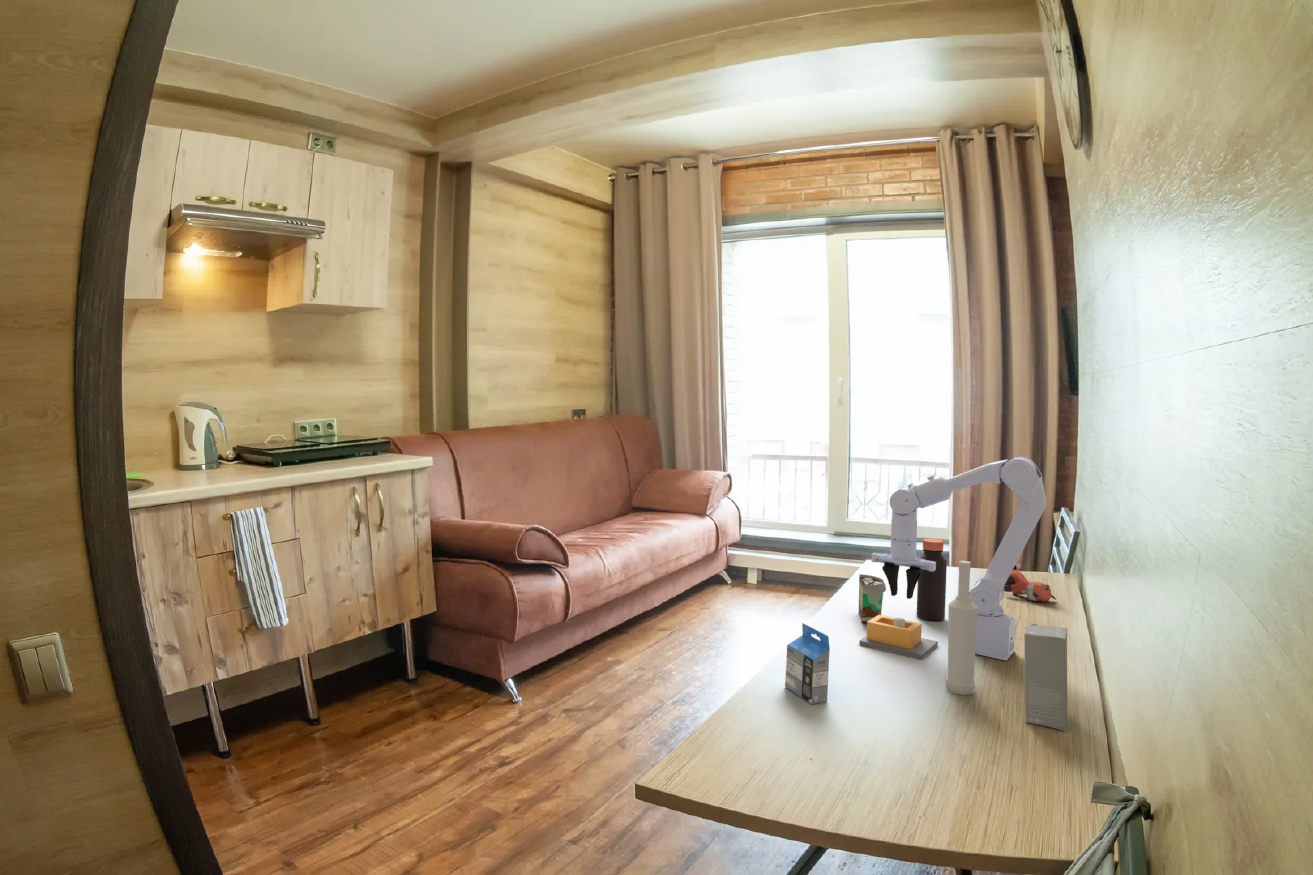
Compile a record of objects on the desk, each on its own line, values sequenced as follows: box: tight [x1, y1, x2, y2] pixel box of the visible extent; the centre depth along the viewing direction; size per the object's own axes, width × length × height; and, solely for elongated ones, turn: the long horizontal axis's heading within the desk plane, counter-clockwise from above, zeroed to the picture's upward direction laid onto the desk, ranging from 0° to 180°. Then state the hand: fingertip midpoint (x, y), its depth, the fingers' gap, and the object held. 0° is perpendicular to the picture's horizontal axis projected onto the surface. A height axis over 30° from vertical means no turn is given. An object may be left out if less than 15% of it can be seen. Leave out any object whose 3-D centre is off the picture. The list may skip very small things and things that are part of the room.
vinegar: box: [916, 538, 948, 622], centre depth 181 cm, size 7×7×20 cm
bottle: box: [945, 560, 978, 696], centre depth 136 cm, size 5×5×25 cm
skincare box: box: [1023, 623, 1069, 732], centre depth 125 cm, size 8×7×16 cm
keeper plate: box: [859, 617, 939, 660], centre depth 161 cm, size 14×11×6 cm
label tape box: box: [784, 622, 830, 705], centre depth 134 cm, size 9×4×12 cm, turn 23°
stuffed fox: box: [1004, 563, 1057, 603], centre depth 201 cm, size 8×11×12 cm
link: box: [866, 614, 923, 649], centre depth 162 cm, size 10×7×4 cm
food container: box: [858, 573, 887, 625], centre depth 180 cm, size 12×6×10 cm, turn 168°
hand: (901, 596), depth 167 cm, fingers open, 3 cm apart
